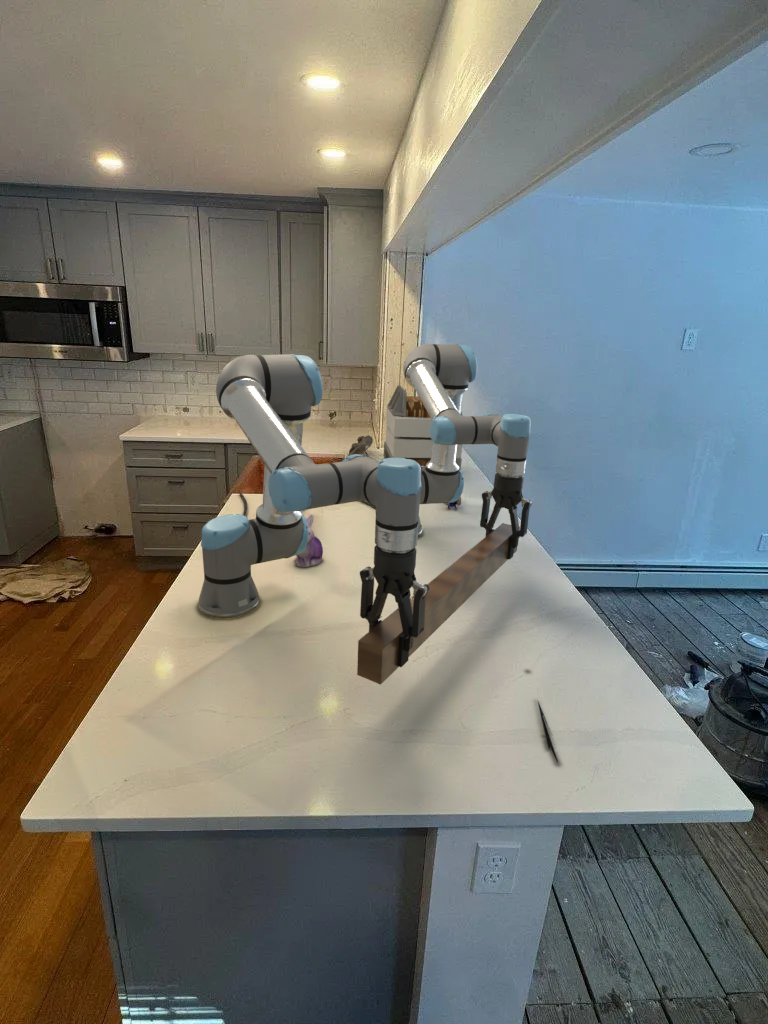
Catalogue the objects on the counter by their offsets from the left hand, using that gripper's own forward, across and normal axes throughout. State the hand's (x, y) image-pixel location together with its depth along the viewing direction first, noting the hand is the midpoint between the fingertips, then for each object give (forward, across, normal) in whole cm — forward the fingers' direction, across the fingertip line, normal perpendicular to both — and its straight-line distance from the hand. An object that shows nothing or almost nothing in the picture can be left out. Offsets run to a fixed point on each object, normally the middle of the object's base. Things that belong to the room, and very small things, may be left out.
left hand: (389, 657), depth 108 cm
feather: (+12, +26, +17) cm, 33 cm away
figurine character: (+12, -44, +121) cm, 130 cm away
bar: (+1, 0, +30) cm, 30 cm away
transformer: (+11, -78, +155) cm, 174 cm away
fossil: (+11, -120, +166) cm, 205 cm away
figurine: (+12, -56, +44) cm, 72 cm away
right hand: (0, -1, +60) cm, 60 cm away
